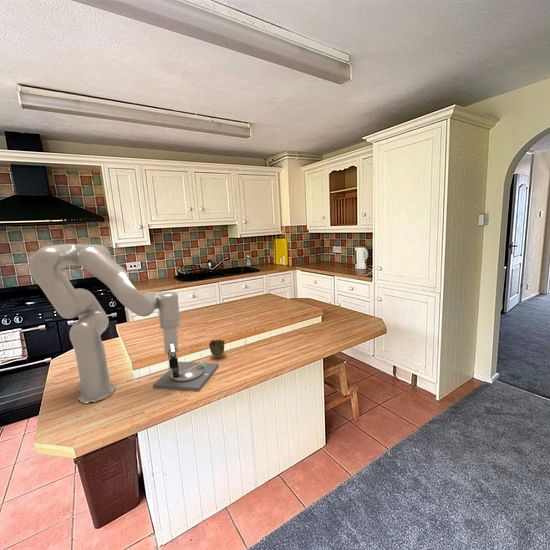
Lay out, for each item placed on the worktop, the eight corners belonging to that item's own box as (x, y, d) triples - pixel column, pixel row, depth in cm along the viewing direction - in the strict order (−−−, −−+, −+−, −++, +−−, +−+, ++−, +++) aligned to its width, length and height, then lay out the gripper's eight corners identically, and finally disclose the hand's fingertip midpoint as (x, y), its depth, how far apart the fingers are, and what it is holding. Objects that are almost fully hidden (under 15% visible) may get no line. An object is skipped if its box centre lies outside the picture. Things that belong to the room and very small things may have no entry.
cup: (222, 361, 139) (220, 345, 138) (207, 360, 141) (206, 344, 139) (227, 354, 146) (226, 339, 145) (214, 353, 148) (212, 338, 146)
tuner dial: (183, 385, 116) (182, 368, 115) (163, 375, 125) (161, 360, 124) (215, 367, 130) (214, 352, 128) (195, 360, 138) (193, 346, 137)
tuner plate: (153, 388, 119) (152, 384, 119) (178, 364, 138) (178, 361, 138) (198, 391, 115) (198, 387, 114) (218, 366, 134) (218, 363, 134)
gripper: (159, 317, 124) (162, 355, 127) (160, 331, 108) (164, 374, 111) (178, 315, 127) (180, 352, 129) (181, 328, 111) (184, 370, 114)
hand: (173, 362), depth 120 cm, fingers open, 9 cm apart
